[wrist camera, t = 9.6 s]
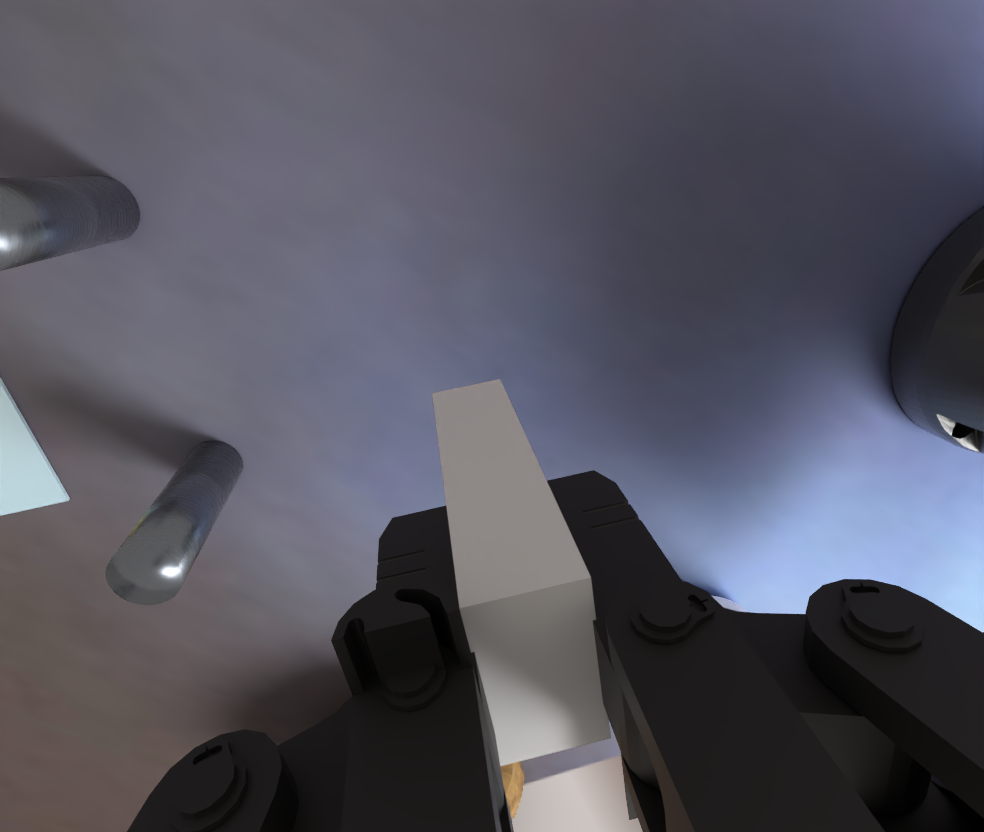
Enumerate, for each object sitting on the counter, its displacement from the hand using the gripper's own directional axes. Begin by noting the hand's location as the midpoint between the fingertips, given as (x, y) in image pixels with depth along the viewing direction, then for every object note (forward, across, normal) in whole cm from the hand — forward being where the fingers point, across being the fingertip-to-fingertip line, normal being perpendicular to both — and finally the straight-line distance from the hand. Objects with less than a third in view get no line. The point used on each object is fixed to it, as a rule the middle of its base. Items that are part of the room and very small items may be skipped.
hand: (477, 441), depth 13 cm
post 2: (+16, +13, +6) cm, 22 cm away
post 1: (+16, +13, -6) cm, 22 cm away
